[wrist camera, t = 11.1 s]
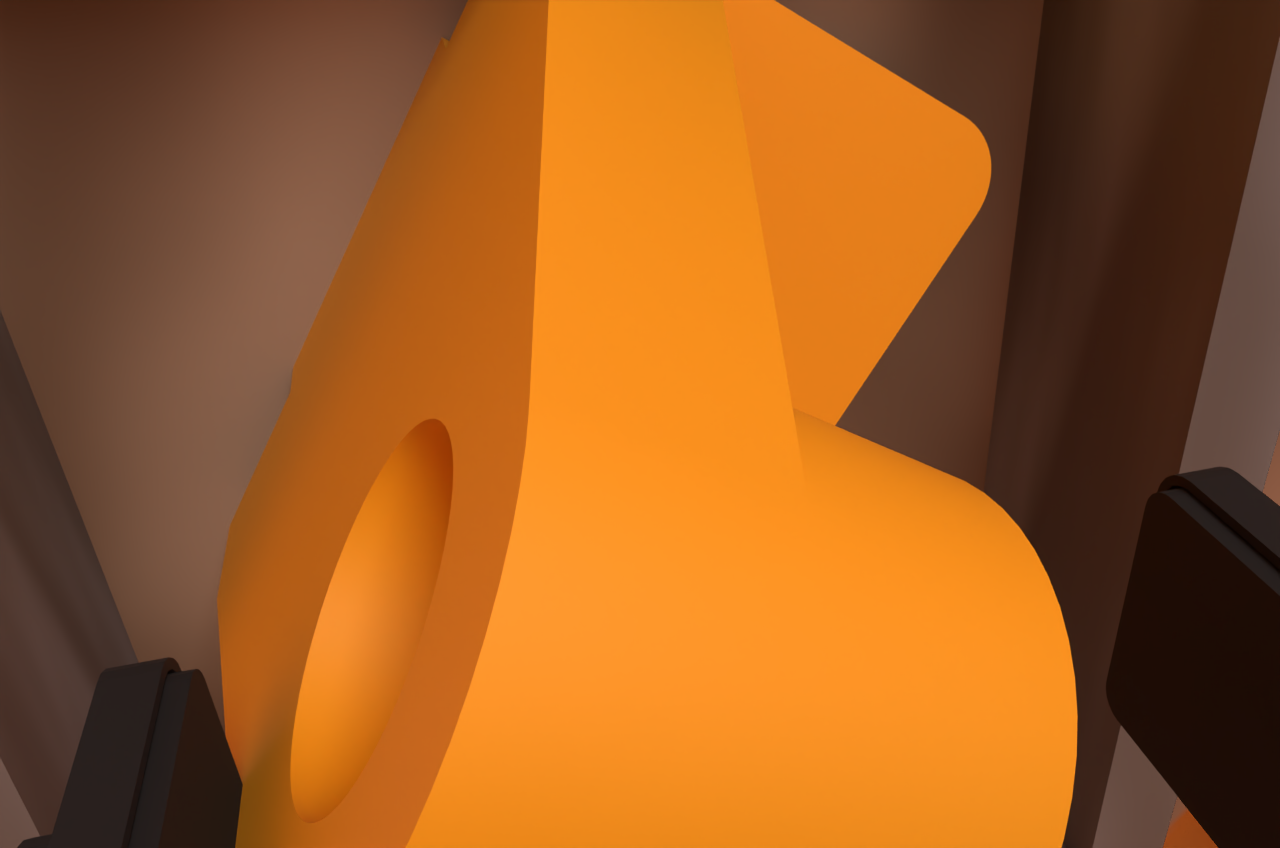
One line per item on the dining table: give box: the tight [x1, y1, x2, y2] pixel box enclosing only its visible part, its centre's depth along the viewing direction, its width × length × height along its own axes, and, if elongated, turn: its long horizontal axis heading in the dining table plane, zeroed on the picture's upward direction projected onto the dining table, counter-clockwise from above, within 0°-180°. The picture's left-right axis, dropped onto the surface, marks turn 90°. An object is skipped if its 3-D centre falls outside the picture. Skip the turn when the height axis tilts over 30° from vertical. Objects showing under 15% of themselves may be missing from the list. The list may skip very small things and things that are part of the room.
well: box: [0, 0, 1280, 848], centre depth 16 cm, size 20×24×6 cm
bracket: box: [217, 0, 1078, 848], centre depth 13 cm, size 11×7×12 cm, turn 151°
